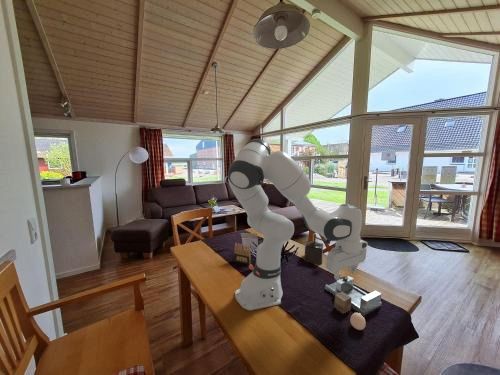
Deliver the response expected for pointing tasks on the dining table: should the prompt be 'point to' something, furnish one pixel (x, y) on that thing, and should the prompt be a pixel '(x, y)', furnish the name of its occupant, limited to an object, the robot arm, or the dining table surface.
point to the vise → (359, 298)
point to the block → (342, 302)
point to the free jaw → (344, 284)
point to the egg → (358, 321)
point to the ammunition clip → (242, 254)
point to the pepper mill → (314, 251)
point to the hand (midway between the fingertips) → (345, 275)
